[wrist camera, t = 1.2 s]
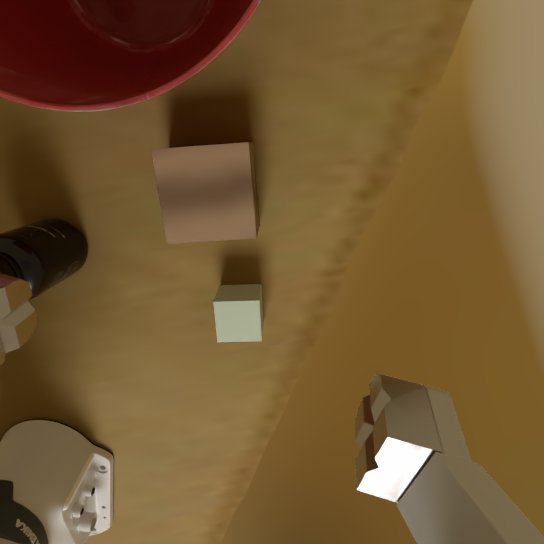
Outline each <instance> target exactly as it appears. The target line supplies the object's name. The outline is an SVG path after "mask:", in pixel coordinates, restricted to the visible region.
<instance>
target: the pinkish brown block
mask: <svg viewBox="0 0 544 544" xmlns="http://www.w3.org/2000/svg"><path fill="white" fill-rule="evenodd" d="M151 152H152V158H153V163H154V169H155V175H156V181H157V187H158V193H159V199H160V205H161V211H162V217H163V222H164V228H165V234H166V240H167V244H172V243H189V242H205V241H221V240H237V239H253V238H257V234H258V230H259V226H260V225H259V213H258V200H257V188H256V175H255V163H254V150H253V142H244V143H230V144H217V145H203V146H189V147H175V148H161V149H151Z"/></svg>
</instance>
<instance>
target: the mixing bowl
mask: <svg viewBox="0 0 544 544" xmlns="http://www.w3.org/2000/svg"><path fill="white" fill-rule="evenodd" d="M260 2H261V0H0V97H2V98H5V99H8V100H11V101H14V102H18V103H21V104H25V105H29V106H33V107H37V108H43V109H50V110H57V111H70V112H92V111H102V110H109V109H115V108H120V107H125V106H129V105H133V104H136V103H139V102H142V101H145V100H148V99H151V98H153V97H155V96H158V95H160V94H162V93H165V92H167V91H169V90H171V89H172V88H174V87H176V86H178V85H180V84H181V83H183V82H184V81H186V80H188V79H189V78H191V77H192V76H194V75H195V74H197V73H198V72H199V71H201V70H202V69H203V68H204V67H206V66H207V65H208V64H209V63H210V62H211V61H213V60H214V59H215V58H216V57H217V56H218V55H219V54H220V53H221V52H222V51H223V50H224V49H225V48H226V47H227V46H228V45H229V44H230V43H231V42H232V41H233V40H234V38H235V37H236V36H237V35H238V34H239V32H240V31H241V30H242V29H243V27H244V26H245V25H246V23H247V22H248V20H249V19H250V18H251V16H252V15H253V13H254V12H255V10H256V9H257V7H258V5H259V3H260Z"/></svg>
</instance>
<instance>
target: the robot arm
mask: <svg viewBox="0 0 544 544" xmlns="http://www.w3.org/2000/svg"><path fill="white" fill-rule="evenodd" d="M31 296H32V291H31V288H30V284H29V283H28V282H26V281H24V280H22V279H19V278H15V277H12V276H8V275H5V274H1V273H0V365H1V364H3V363H4V361H5V355H6V353H8V352H10V351H13V350H16V349H18V348H20V347H21V346H23V345H24V344H25V343H26V342H27V341H28V340H29V339H30V337H31V335H32V334H33V332H34V330H35V328H36V322H37V315H36V310H35V309H34V308H33V306H32V305H31V304H30V303H29V302H28V300H29V299H30V298H31ZM369 386H370V395H368V396H366V397H364V398H363V399H362V401H361V404H360V406H359V408H358V413H357V417H356V422H355V441H356V442H357V444H358V445H359V447H360V448H361V450H360V452H359V454H358V455H357V457H356V484H357V485H356V487H357V490H359V491H362V492H365V493H368V494H371V495H375V496H378V497H381V498H384V499H388V500H391V501H394V502H397V506H398V508H399V510H400V512H401V514H402V516H403V518H404V519H405V521H406V523H407V525H408V527H409V529H410V531H411V533H412V535H413V536H414V539H415V540H416V542H417V544H544V537H543V535H542V534H541V533H540V532H539V531H538V530H537V529H536V528H535V526H534V525H533V524H532V523H531V522H530V521H529V520H528V519H527V517H526V516H525V515H524V514H523V513H522V512H521V511H520V510H519V508H518V507H517V506H516V505H515V504H514V503H513V501H512V500H511V499H510V498H509V497H508V496H507V495H506V493H505V492H504V491H503V490H502V489H501V488H500V487H499V486H498V485H497V483H496V482H495V481H494V480H493V479H492V478H491V476H490V475H489V474H488V473H487V472H486V471H485V470H484V469H483V468H482V466H481V465H480V464H478V463H475V462H472V461H471V458H470V455H469V452H468V449H467V445H466V442H465V439H464V436H463V433H462V430H461V427H460V424H459V421H458V418H457V415H456V412H455V408H454V405H453V403H452V399H451V396H450V394H449V393H448V392H447V391H446V390H443V389H439V388H435V387H431V386H427V385H421V384H418V383H414V382H410V381H406V380H402V379H398V378H394V377H390V376H386V375H382V374H378V373H377V374H376V375H375V376H374V377H373V379H372V381H371V383H370V385H369ZM113 468H114V459H113V456H112V454H110V453H109V452H107V451H105V450H103V449H101V448H99V447H97V446H94V445H93V444H92V443H90V442H89V441H88V440H87V439H86V438H85V437H83V436H82V435H81V434H80V433H78V432H77V431H75V430H73V429H72V428H70V427H67V426H65V425H63V424H60V423H56V422H52V421H46V420H31V421H26V422H22V423H19V424H17V425H15V426H13V427H12V428H10V429H9V430H8V431H7V432H6V433H5V435H4V436H3V438H2V440H1V442H0V544H85V542H86V540H87V538H88V537H89V536H90V535H95V534H98V533H101V532H104V531H106V530H107V529H109V528H110V526H111V524H112V522H113Z"/></svg>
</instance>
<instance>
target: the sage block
mask: <svg viewBox="0 0 544 544" xmlns="http://www.w3.org/2000/svg"><path fill="white" fill-rule="evenodd" d="M214 312H215V322H216V332H217V342H248V341H262V332H263V302H262V284H242V285H220V287H219V290H218V292H217V294H216V297H215V299H214Z"/></svg>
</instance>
